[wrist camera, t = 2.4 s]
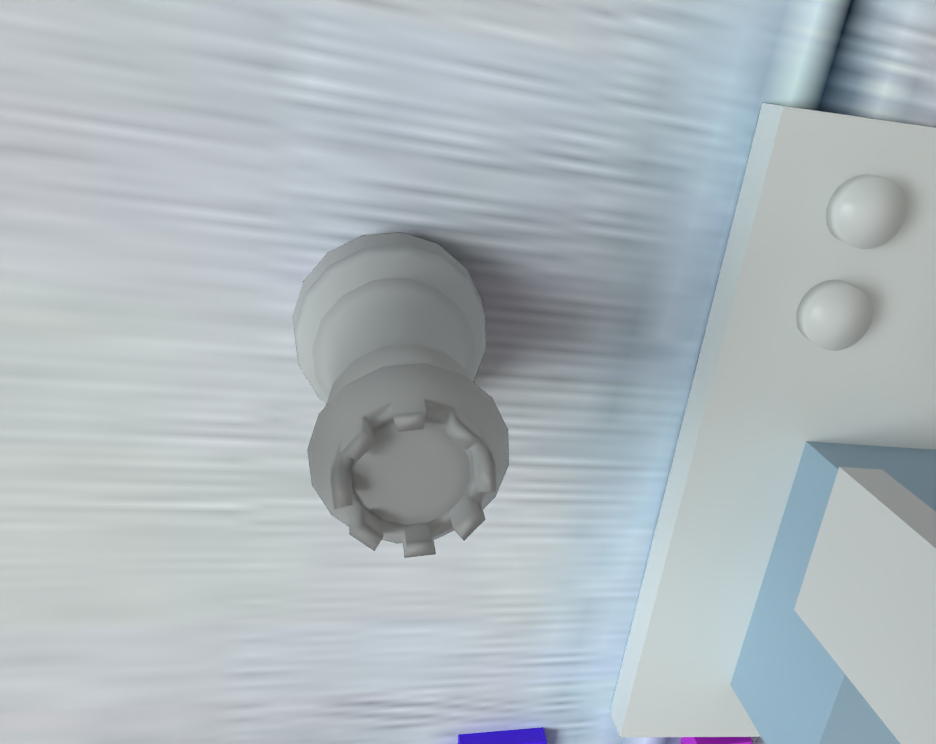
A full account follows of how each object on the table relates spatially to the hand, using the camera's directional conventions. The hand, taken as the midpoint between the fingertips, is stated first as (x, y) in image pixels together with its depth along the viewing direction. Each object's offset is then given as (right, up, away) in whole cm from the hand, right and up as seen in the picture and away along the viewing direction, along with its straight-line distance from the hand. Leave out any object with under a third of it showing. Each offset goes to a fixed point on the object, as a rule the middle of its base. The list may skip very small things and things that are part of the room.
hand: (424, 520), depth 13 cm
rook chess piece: (-1, +4, +8) cm, 8 cm away
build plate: (+11, 0, +11) cm, 15 cm away
